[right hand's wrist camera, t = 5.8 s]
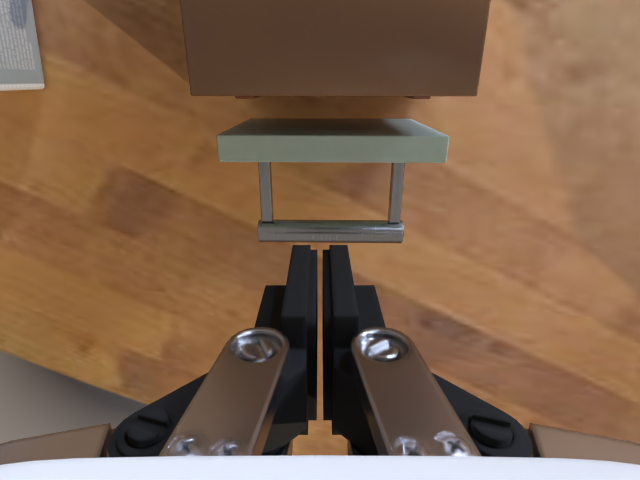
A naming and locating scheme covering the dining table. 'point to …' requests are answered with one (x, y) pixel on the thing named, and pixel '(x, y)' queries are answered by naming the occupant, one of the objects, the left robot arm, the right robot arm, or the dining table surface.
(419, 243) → the dining table surface
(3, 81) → the hard drive box
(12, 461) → the right robot arm
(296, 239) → the drawer
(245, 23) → the cabinet
